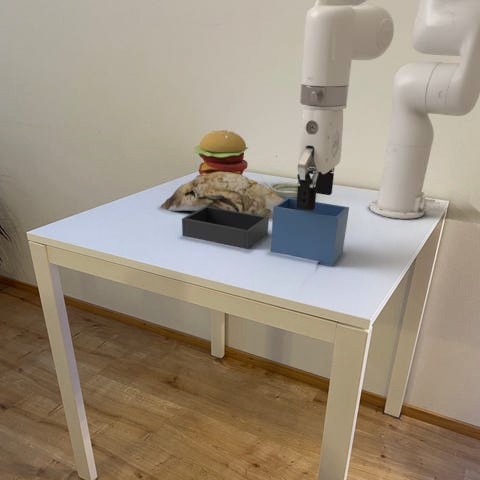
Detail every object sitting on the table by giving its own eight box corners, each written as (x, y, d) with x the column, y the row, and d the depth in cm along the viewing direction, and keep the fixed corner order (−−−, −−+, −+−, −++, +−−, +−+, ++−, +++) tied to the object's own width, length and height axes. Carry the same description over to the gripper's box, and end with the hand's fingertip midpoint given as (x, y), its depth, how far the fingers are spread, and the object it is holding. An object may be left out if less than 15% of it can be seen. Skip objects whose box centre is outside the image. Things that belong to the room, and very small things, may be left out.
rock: (172, 160, 117) (293, 162, 111) (177, 198, 123) (293, 201, 116) (147, 182, 105) (283, 185, 98) (154, 223, 110) (283, 228, 104)
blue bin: (342, 253, 91) (349, 207, 86) (331, 266, 86) (338, 217, 81) (284, 241, 95) (287, 197, 91) (270, 253, 90) (273, 206, 85)
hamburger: (245, 199, 120) (247, 136, 113) (191, 196, 121) (190, 134, 113) (248, 182, 134) (250, 125, 127) (201, 180, 135) (200, 123, 127)
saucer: (306, 192, 127) (307, 183, 126) (308, 202, 119) (309, 193, 118) (270, 190, 128) (271, 181, 126) (269, 201, 119) (269, 191, 118)
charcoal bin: (267, 236, 98) (268, 217, 96) (247, 251, 91) (248, 231, 89) (206, 224, 103) (206, 205, 101) (182, 237, 96) (181, 218, 94)
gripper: (330, 105, 69) (319, 219, 78) (360, 92, 82) (348, 191, 91) (281, 102, 72) (276, 212, 81) (318, 90, 85) (310, 186, 94)
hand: (314, 201), depth 86 cm, fingers open, 9 cm apart
